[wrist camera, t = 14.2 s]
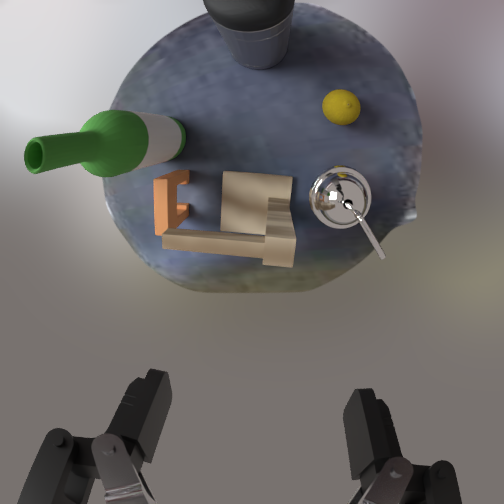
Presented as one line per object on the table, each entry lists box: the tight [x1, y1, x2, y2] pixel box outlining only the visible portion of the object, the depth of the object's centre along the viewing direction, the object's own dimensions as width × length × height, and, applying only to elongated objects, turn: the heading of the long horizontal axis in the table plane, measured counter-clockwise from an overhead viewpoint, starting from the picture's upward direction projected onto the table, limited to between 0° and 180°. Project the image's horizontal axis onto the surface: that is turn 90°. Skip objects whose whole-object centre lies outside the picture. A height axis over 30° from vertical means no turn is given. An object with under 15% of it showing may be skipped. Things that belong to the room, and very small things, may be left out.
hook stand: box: [162, 171, 296, 267], centre depth 37 cm, size 10×14×20 cm
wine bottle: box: [24, 110, 186, 177], centre depth 29 cm, size 8×8×30 cm
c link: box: [154, 170, 189, 236], centre depth 41 cm, size 8×2×10 cm, turn 176°
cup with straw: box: [309, 166, 386, 260], centre depth 35 cm, size 8×9×20 cm
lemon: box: [322, 89, 361, 125], centre depth 35 cm, size 6×6×8 cm
